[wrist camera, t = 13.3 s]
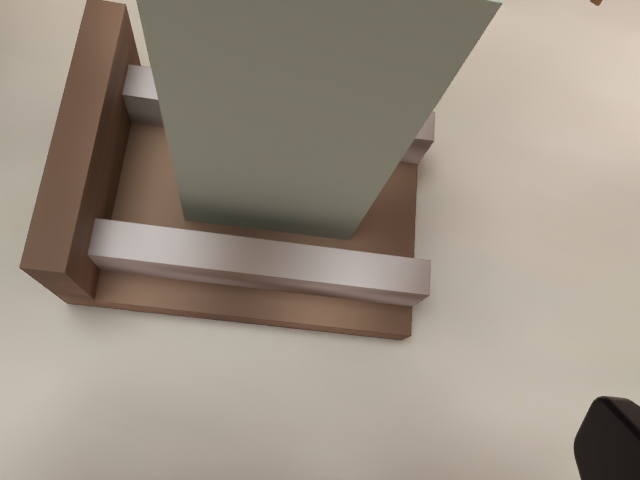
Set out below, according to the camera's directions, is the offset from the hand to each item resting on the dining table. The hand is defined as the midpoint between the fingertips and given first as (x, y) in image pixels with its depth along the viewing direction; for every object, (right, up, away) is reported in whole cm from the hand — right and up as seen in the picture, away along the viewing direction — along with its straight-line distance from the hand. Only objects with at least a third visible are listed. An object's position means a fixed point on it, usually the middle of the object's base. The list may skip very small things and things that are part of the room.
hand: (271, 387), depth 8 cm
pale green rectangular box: (-1, +3, +14) cm, 15 cm away
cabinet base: (-1, +3, +15) cm, 16 cm away
